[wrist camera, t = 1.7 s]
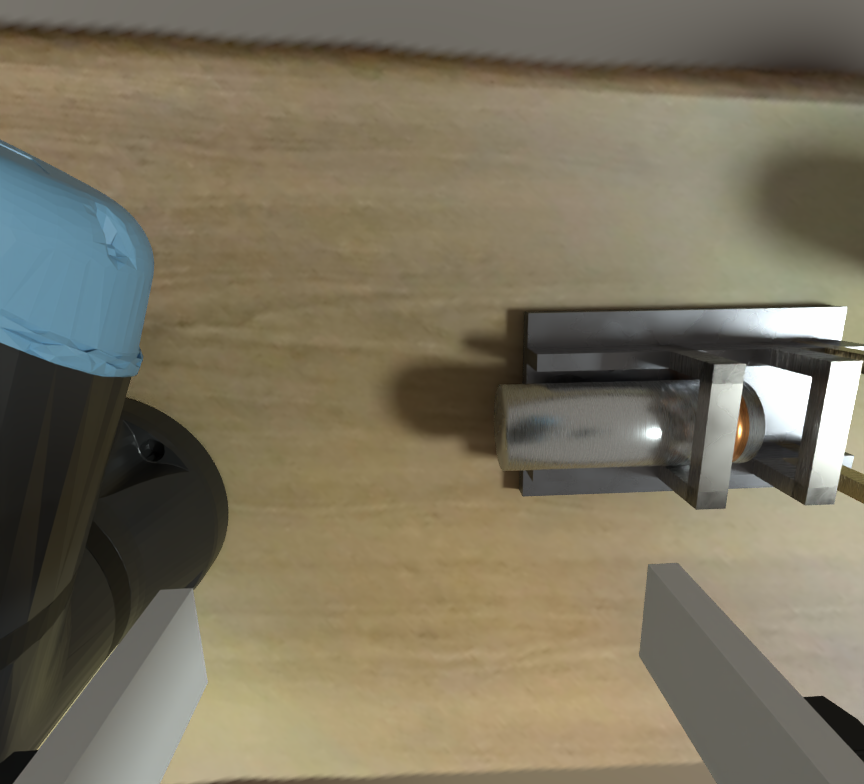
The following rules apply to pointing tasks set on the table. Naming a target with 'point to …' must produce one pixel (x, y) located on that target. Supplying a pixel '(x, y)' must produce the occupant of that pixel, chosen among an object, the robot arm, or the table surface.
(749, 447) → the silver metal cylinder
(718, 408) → the grey slotted rack
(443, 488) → the table surface
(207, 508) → the robot arm
